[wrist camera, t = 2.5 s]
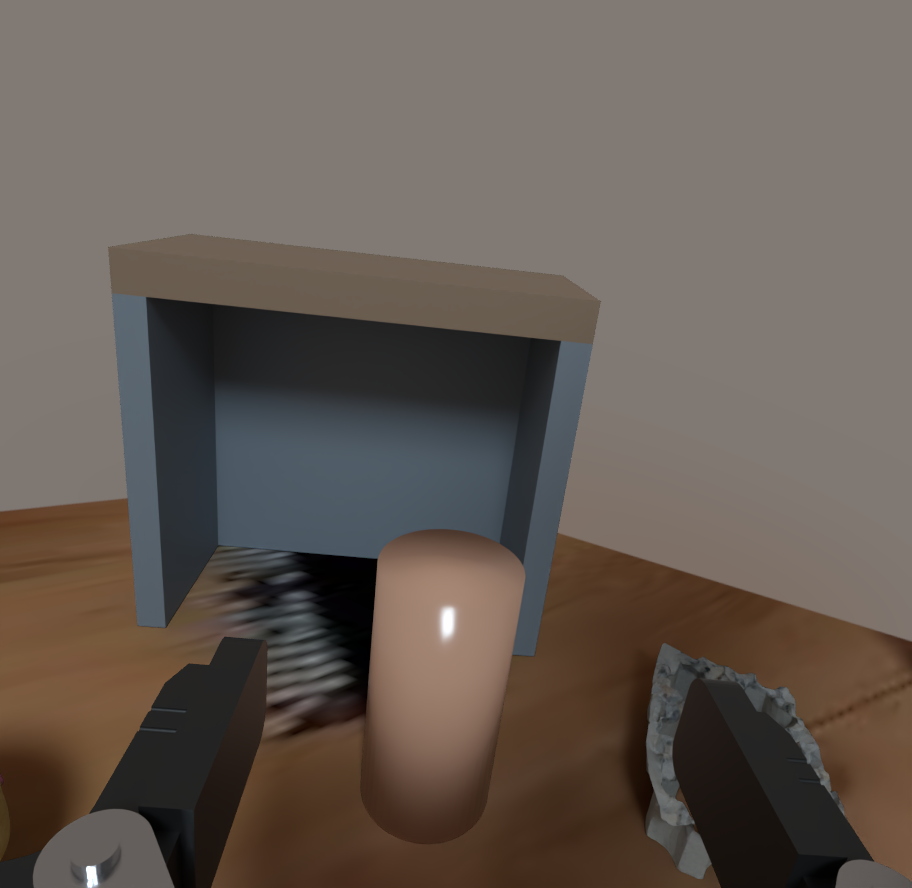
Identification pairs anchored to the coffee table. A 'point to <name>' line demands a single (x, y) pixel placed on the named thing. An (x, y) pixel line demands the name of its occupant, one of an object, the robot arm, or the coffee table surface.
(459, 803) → the pinkish-brown cylinder
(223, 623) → the coffee table surface
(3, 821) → the cupcake
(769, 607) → the coffee table surface
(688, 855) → the egg carton
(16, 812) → the coffee table surface
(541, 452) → the counter
